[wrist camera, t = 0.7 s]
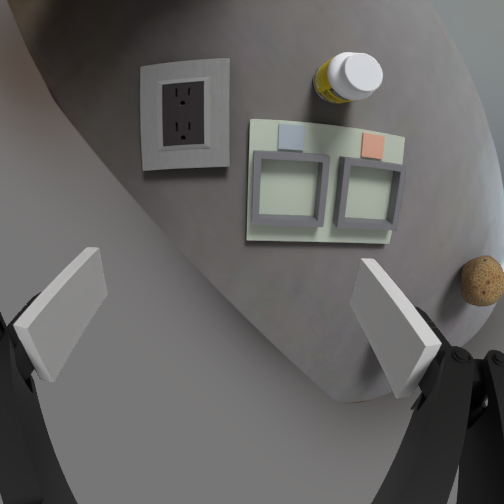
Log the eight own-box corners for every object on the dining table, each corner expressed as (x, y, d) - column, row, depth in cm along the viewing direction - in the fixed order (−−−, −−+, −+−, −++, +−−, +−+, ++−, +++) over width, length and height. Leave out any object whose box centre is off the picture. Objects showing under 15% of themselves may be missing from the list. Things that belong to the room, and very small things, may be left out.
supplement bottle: (309, 99, 31) (334, 90, 22) (314, 59, 29) (339, 38, 20) (351, 108, 31) (387, 104, 22) (355, 69, 29) (391, 54, 20)
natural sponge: (484, 238, 39) (519, 262, 30) (481, 278, 43) (511, 305, 34) (450, 254, 40) (485, 283, 31) (449, 295, 44) (478, 326, 35)
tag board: (249, 119, 32) (250, 118, 29) (400, 136, 33) (412, 138, 30) (246, 236, 38) (246, 246, 35) (385, 240, 39) (395, 249, 36)
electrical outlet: (230, 164, 34) (229, 167, 32) (147, 168, 34) (142, 171, 32) (230, 62, 29) (229, 57, 27) (145, 69, 29) (139, 66, 26)
